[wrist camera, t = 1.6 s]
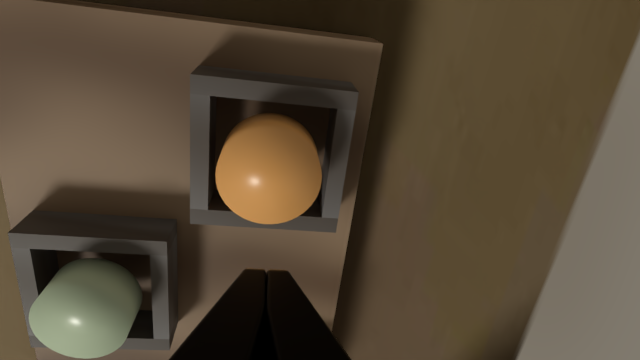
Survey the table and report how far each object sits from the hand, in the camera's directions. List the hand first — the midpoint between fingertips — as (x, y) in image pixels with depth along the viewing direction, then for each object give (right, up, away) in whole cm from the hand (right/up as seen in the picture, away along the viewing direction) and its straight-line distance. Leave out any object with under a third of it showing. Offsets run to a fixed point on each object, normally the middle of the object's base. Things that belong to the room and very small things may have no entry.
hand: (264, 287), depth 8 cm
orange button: (-1, +3, +6) cm, 7 cm away
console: (-5, -1, +11) cm, 12 cm away
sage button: (-7, -2, +8) cm, 11 cm away
